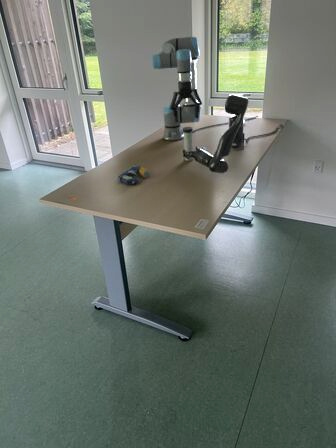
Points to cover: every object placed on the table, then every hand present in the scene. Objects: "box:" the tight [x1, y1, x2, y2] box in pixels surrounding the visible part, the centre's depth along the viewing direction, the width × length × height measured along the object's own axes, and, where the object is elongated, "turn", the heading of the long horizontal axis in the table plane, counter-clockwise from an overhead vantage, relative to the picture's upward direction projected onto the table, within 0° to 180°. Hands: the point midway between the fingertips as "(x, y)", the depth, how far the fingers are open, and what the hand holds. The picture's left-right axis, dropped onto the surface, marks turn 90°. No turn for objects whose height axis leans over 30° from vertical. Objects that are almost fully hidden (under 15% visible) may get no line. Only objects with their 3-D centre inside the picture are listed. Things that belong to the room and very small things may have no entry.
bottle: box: [183, 132, 194, 162], centre depth 203 cm, size 5×5×19 cm
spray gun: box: [116, 164, 150, 186], centre depth 188 cm, size 21×4×15 cm
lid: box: [182, 126, 194, 133], centre depth 199 cm, size 6×6×2 cm
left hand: (186, 119), depth 196 cm, fingers open, 13 cm apart
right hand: (189, 149), depth 204 cm, fingers open, 8 cm apart
